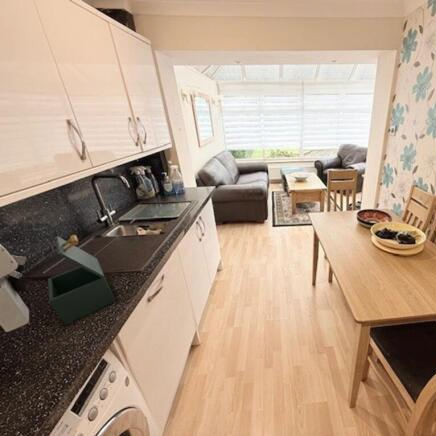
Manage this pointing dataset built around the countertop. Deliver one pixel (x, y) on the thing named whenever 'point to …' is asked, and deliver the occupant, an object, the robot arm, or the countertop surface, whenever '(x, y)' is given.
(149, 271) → the countertop surface
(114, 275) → the countertop surface
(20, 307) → the cosmetic box
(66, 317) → the chest
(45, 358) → the countertop surface
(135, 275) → the countertop surface
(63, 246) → the lid
